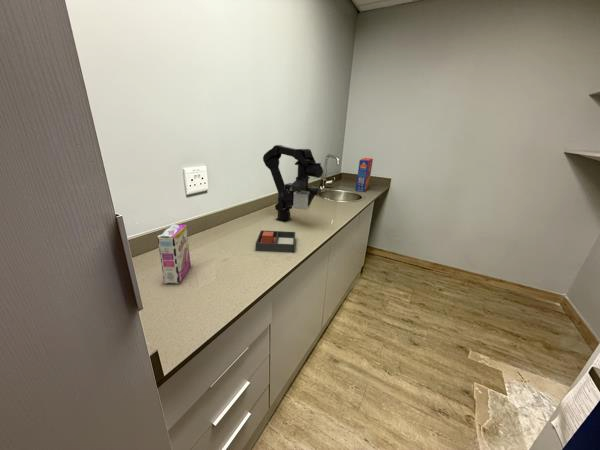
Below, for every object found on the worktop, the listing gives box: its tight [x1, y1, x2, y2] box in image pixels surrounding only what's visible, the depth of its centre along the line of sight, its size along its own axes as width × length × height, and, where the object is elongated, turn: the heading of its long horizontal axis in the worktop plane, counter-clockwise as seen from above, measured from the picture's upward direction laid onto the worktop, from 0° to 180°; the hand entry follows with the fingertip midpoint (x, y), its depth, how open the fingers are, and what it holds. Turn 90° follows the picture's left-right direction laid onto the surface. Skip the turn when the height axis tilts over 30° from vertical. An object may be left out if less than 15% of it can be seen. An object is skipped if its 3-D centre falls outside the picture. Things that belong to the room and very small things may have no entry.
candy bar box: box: [156, 223, 192, 285], centre depth 79 cm, size 11×5×16 cm, turn 5°
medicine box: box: [292, 190, 311, 211], centre depth 127 cm, size 8×4×9 cm, turn 73°
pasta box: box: [355, 157, 374, 193], centre depth 231 cm, size 28×8×28 cm, turn 157°
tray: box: [255, 229, 296, 253], centre depth 107 cm, size 16×14×4 cm
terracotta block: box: [262, 230, 274, 243], centre depth 107 cm, size 4×4×4 cm
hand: (301, 204), depth 127 cm, fingers closed on medicine box, 8 cm apart
